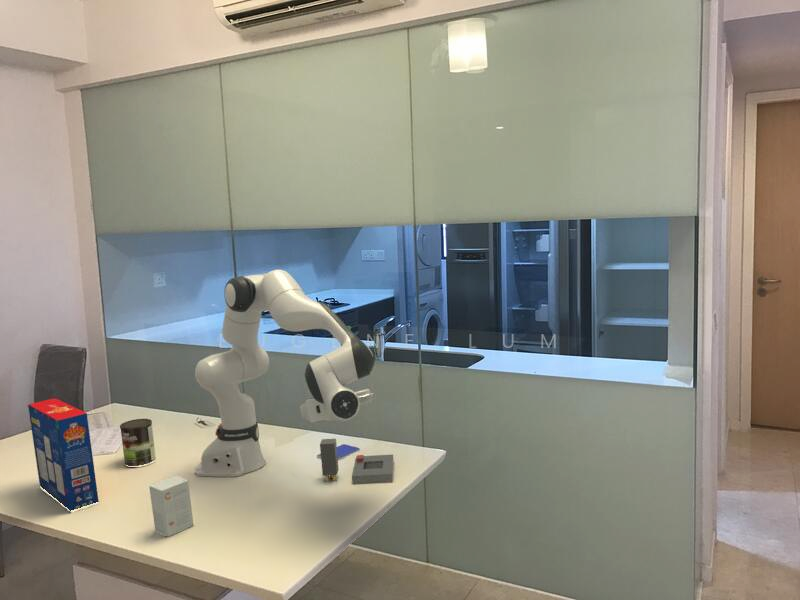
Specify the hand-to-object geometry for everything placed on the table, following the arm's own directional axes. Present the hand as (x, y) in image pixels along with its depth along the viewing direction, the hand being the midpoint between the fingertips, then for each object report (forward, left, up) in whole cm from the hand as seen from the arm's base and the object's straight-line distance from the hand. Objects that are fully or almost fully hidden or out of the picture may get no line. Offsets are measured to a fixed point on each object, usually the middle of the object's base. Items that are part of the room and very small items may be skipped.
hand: (334, 403), depth 198 cm
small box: (-43, -21, -26) cm, 54 cm away
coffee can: (-73, +31, -26) cm, 83 cm away
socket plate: (+9, +10, -26) cm, 29 cm away
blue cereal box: (-85, +5, -26) cm, 89 cm away
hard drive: (-4, +28, -27) cm, 39 cm away
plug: (-4, +7, -26) cm, 27 cm away
